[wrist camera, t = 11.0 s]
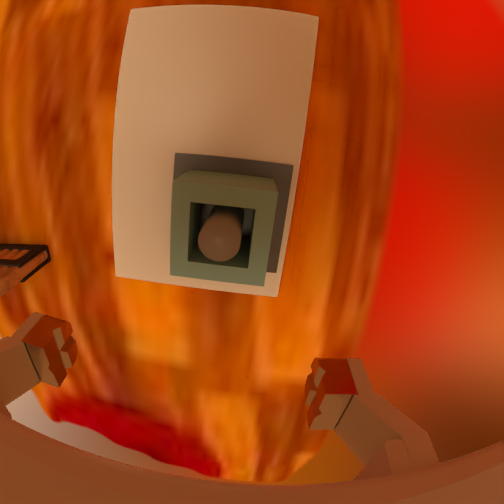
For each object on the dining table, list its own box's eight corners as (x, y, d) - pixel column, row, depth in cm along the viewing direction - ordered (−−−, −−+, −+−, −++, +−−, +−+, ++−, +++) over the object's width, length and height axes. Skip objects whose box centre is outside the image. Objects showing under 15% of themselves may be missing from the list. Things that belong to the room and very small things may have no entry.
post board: (137, 14, 18) (98, -16, 12) (315, 22, 19) (337, -14, 12) (121, 269, 28) (87, 311, 21) (276, 288, 28) (281, 340, 21)
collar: (189, 169, 22) (172, 181, 18) (273, 178, 23) (278, 192, 18) (185, 247, 25) (169, 275, 20) (262, 256, 25) (263, 286, 20)
